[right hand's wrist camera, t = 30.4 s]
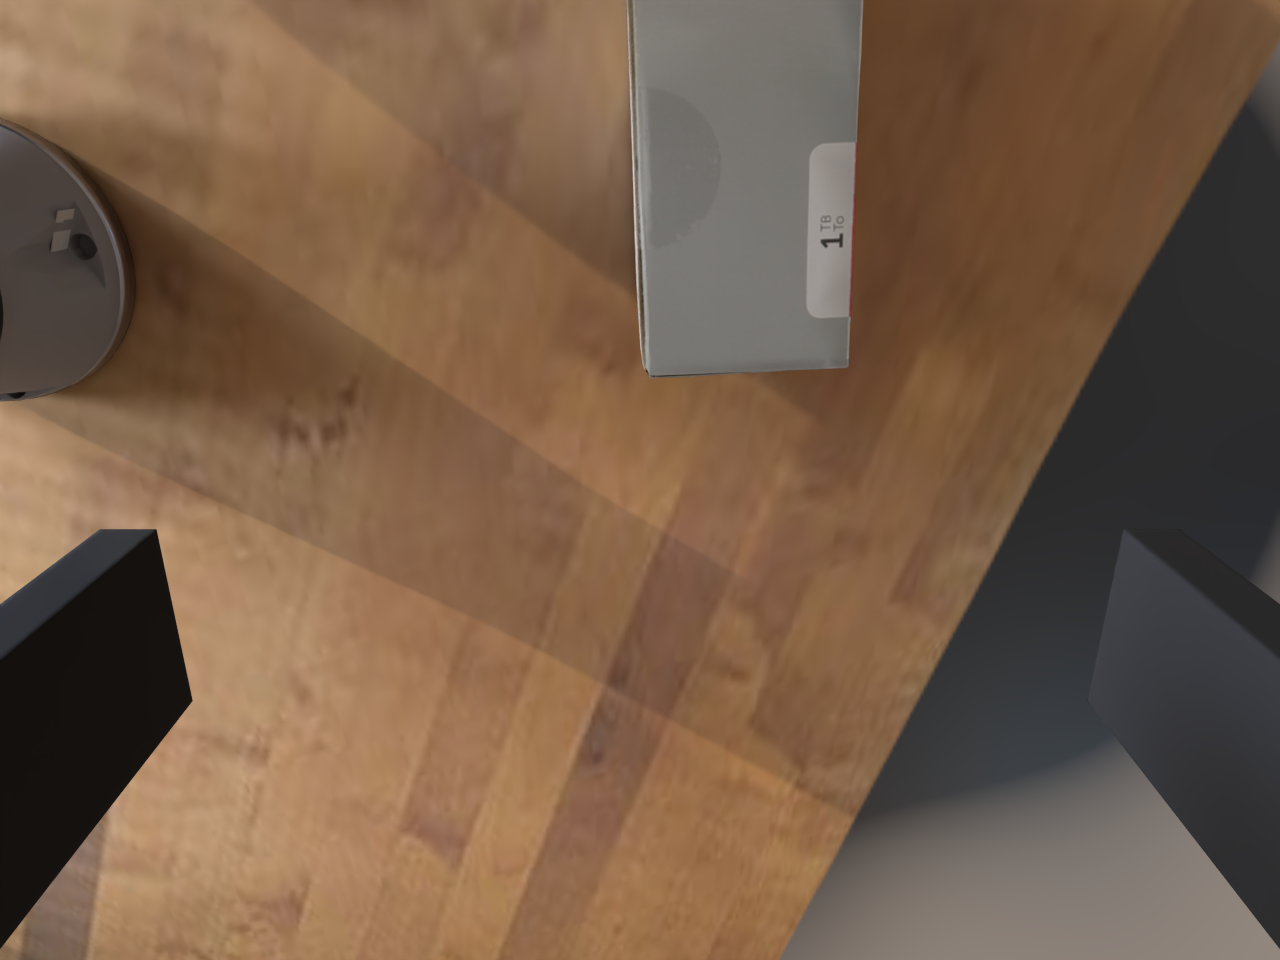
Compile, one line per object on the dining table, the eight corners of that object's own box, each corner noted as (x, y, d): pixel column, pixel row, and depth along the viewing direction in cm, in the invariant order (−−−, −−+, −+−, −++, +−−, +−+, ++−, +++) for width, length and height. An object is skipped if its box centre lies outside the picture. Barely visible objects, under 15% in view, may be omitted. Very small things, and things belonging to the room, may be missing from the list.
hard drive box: (773, 287, 51) (849, 380, 33) (636, 292, 51) (635, 388, 33) (778, -27, 46) (873, -131, 27) (624, -21, 46) (614, -120, 27)
